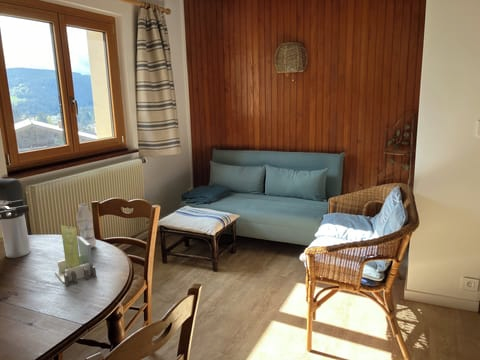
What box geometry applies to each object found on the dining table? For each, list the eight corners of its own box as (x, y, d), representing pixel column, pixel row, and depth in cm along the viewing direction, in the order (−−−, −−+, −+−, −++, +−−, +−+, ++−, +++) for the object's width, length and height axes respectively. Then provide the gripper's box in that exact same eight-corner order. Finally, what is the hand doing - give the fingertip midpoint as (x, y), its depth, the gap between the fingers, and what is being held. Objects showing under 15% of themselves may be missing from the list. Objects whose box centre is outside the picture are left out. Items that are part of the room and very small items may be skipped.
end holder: (55, 273, 151) (50, 243, 148) (84, 264, 158) (80, 236, 155) (63, 283, 143) (58, 252, 140) (94, 273, 149) (90, 244, 146)
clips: (65, 284, 142) (63, 274, 141) (94, 274, 149) (93, 265, 148) (66, 286, 140) (65, 276, 139) (96, 276, 147) (95, 267, 146)
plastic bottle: (91, 251, 170) (85, 207, 165) (77, 250, 171) (71, 206, 166) (99, 245, 176) (94, 202, 171) (85, 244, 177) (80, 202, 173)
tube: (83, 270, 152) (76, 223, 148) (82, 276, 148) (76, 227, 143) (67, 273, 150) (60, 225, 146) (66, 279, 146) (59, 229, 141)
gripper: (-30, 210, 119) (28, 199, 129) (-35, 200, 130) (19, 191, 140) (-26, 233, 121) (32, 220, 131) (-31, 221, 132) (23, 211, 142)
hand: (25, 205), depth 135 cm, fingers open, 8 cm apart
